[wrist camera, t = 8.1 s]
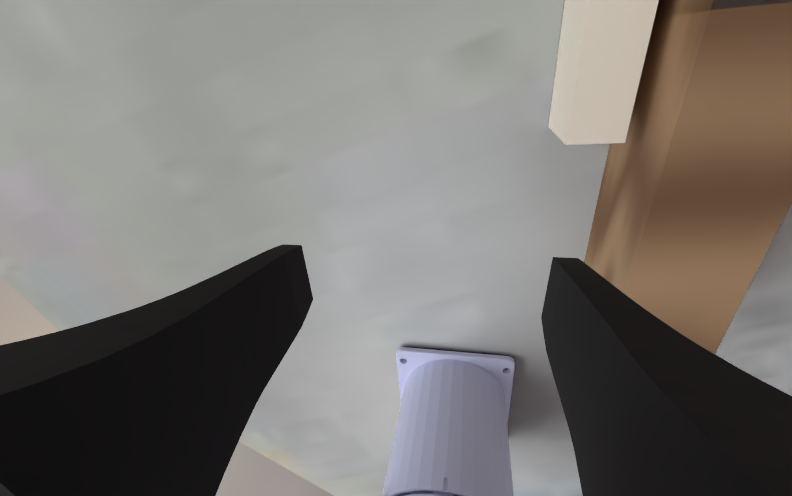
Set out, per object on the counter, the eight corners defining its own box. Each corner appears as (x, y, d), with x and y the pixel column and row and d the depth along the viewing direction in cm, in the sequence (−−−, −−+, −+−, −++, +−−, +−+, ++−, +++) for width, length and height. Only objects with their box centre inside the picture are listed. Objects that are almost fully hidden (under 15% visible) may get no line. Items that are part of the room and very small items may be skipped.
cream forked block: (798, 116, 14) (1009, 160, 9) (548, 127, 16) (588, 168, 10) (918, -147, 10) (1423, -367, 5) (577, -93, 12) (660, -206, 7)
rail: (657, 291, 19) (711, 361, 15) (578, 287, 20) (607, 353, 16) (772, -31, 12) (931, -73, 8) (644, -16, 13) (727, -47, 9)
